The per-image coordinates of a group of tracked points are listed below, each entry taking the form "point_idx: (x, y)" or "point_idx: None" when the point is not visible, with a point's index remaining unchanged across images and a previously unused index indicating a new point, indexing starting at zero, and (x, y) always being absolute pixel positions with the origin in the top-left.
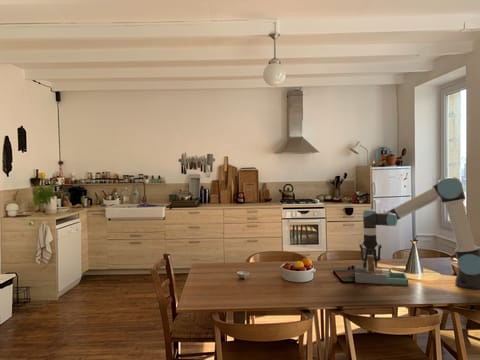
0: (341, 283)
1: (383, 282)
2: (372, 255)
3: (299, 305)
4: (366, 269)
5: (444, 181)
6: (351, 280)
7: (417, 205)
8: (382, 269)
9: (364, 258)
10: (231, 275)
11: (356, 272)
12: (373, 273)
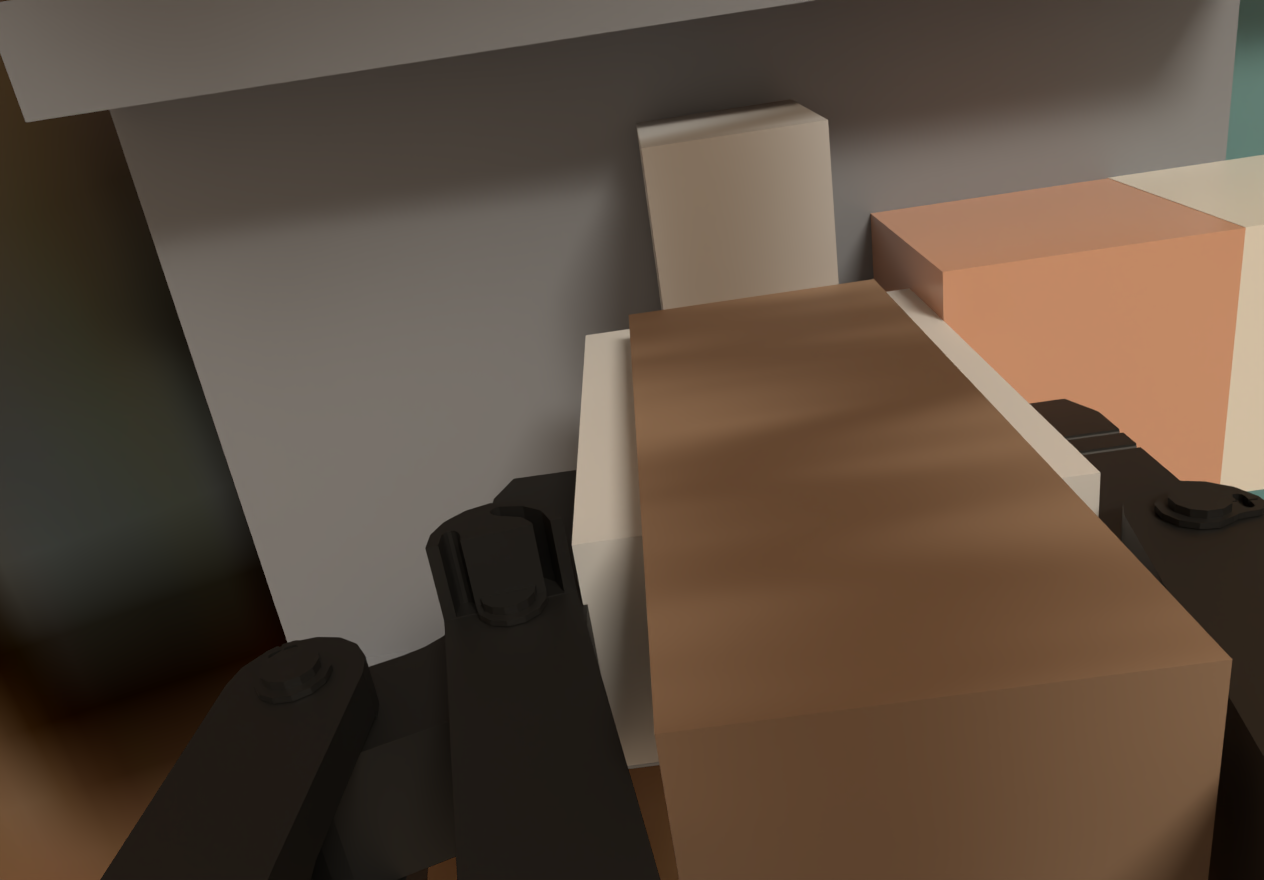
0: (78, 809)
1: None
2: (1133, 760)
3: None
4: (535, 38)
5: None
6: (209, 518)
7: None
8: (1251, 377)
9: (450, 755)
10: None
11: (177, 147)
12: (811, 76)
